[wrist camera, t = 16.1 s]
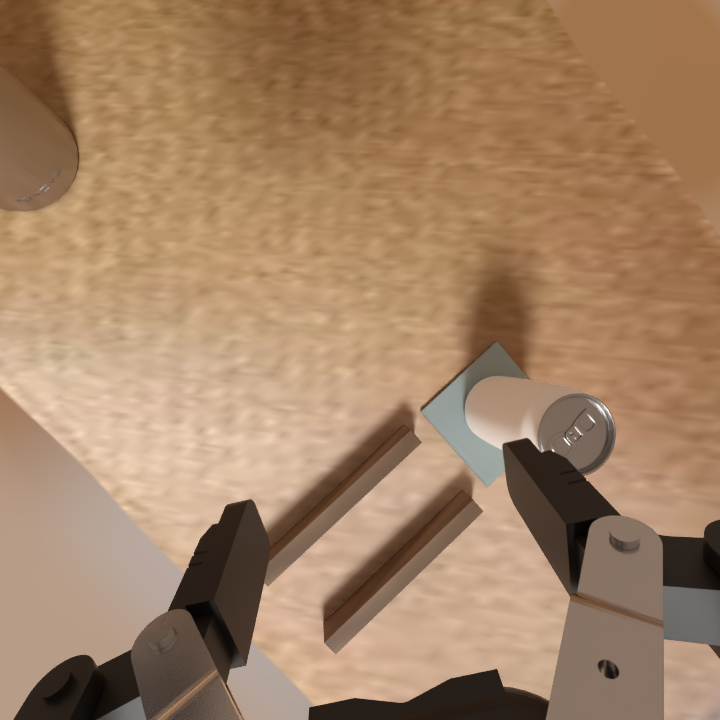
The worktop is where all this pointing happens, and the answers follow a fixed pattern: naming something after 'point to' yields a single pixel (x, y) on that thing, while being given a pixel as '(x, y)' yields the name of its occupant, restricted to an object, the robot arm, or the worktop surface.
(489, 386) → the can
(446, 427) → the pad
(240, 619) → the robot arm
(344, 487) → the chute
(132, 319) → the worktop surface
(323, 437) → the worktop surface
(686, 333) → the worktop surface
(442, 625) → the worktop surface
